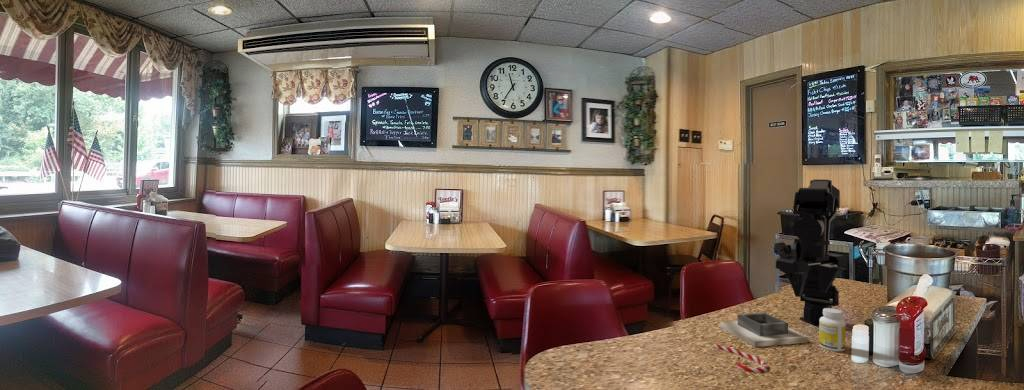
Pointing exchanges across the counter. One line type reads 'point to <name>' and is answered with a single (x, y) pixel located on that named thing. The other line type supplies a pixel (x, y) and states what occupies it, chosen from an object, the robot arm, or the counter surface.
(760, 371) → the candy cane
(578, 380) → the counter surface
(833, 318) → the supplement bottle
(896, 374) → the counter surface
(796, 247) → the robot arm
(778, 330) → the holder board
